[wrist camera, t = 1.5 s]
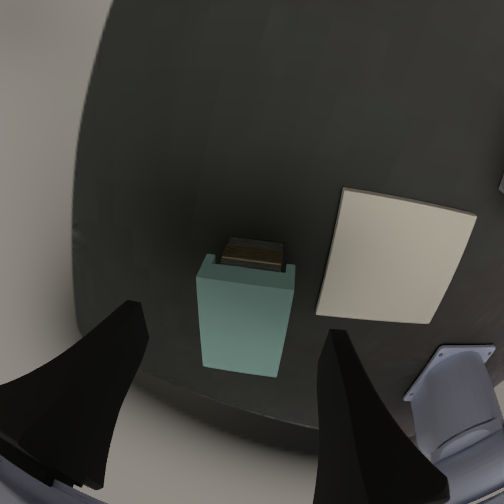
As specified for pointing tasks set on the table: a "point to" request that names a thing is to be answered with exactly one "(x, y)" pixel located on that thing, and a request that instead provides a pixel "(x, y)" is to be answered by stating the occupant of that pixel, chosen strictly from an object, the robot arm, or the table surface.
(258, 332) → the lid
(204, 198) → the table surface
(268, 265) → the grey and brown box
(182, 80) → the table surface
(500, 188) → the light bulb box
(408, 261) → the mat
